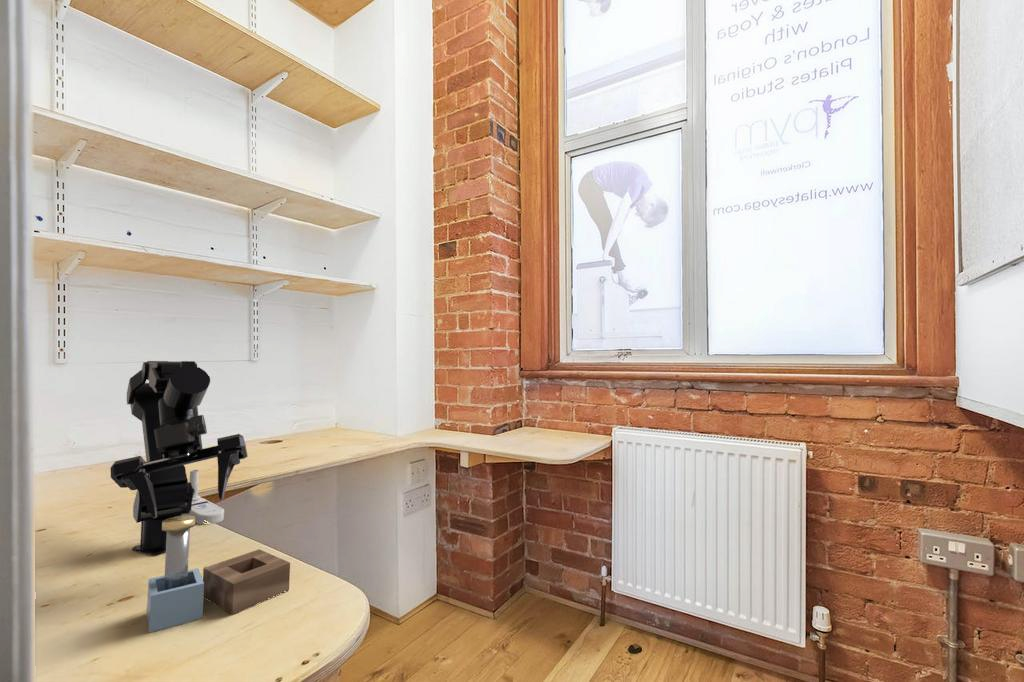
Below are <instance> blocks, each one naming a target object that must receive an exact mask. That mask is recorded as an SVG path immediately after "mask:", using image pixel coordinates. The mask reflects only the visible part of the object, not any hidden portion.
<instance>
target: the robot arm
mask: <svg viewBox="0 0 1024 682" xmlns="http://www.w3.org/2000/svg"><path fill="white" fill-rule="evenodd" d="M147 381H148V382H147ZM210 383H211V377H210V376H209V374H208V373H207V372H206V371H205V370H204V369H203V368H201V367H198V364H197V363H196V362H195V361H193V360H191V361H187V360H182V361H170V360H169V361H168V360H147V361H143V362H142V366H141V370H139V371H138V372H136V373H135V374H134V375H132V376H131V377H130V378H129V381H128V384H127V390H126V405H130V412H131V413H130V414H131V415H132V416H133V417H135V418H136V419H138V420H139V421H141V424H142V425H141V426H142V434H143V443H144V450H145V451H144V452H145V459H144V458H143V456H142V455H138V456H134V457H129V458H123V459H120V460H116V461H114V463H112V465H111V467H110V479H112V480H113V482H115V484H117V486H119V487H120V488H125V489H126V488H128V489H129V490H130V491H136V494H135V498H134V501H133V507H132V513H133V514H132V515H133V519H134V521H135V522H136V523H137V524H138V523H141V525H140V544H138V545H136V546H134V547H133V546H132V548H131V551H132V552H137V553H143V554H146V555H147V554H148V555H153V556H157V555H161V554H163V553H166V538H167V531H163V530H162V522H163V521H164V520H166V519H168V518H171V517H176V516H182V514H188V513H190V511H191V505H192V499H193V495H194V492H195V490H194V488H192V485H191V482H189V479H188V477H187V476H188V475H187V472H186V470H187V469H186V465H190V464H193V463H199V462H201V461H206V460H210V459H215V458H216V459H217V493H218V498H219V500H220V501H222V500H224V496H225V493H226V489H227V486H228V483H229V482H228V481H229V479H230V477H231V474H232V472H233V469H234V467H235V466H237V465H239V464H241V461H240V460H244V459H246V458H249V457H248V451H247V447H246V445H247V444H246V441H245V438H244V436H243V435H242V434H240V433H237V434H233V435H232V434H231V435H228V436H227V435H226V436H223V437H219V438H217V445H215V446H209V447H207V448H206V447H205V448H203V442H202V440H203V439H202V435H206V434H208V431H207V424H206V420H205V416H204V414H200V415H199V408H198V406H200V405H201V403H202V402H203V399H204V397H205V395H206V393H207V391H208V389H209V386H210Z"/></svg>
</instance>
